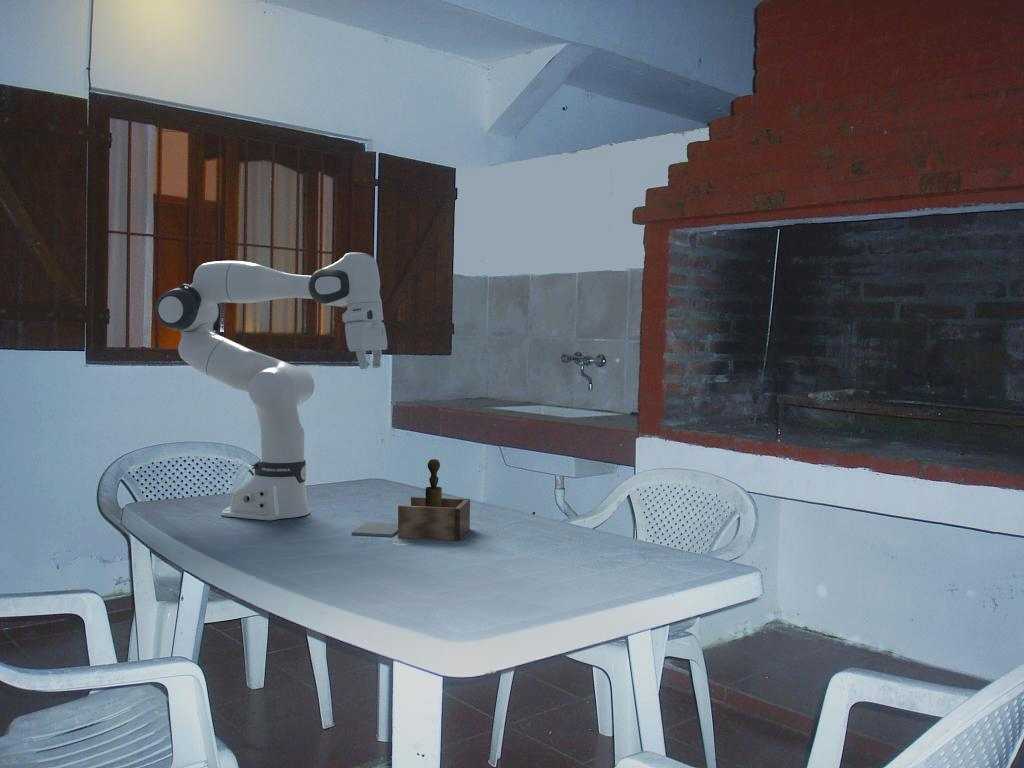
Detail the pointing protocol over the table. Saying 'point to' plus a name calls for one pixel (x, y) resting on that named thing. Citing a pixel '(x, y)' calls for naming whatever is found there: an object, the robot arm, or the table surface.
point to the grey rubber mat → (377, 529)
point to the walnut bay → (434, 519)
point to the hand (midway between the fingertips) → (370, 368)
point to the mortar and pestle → (433, 486)
